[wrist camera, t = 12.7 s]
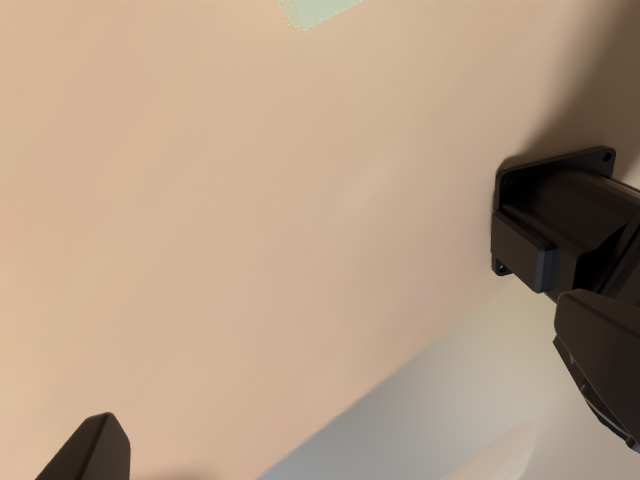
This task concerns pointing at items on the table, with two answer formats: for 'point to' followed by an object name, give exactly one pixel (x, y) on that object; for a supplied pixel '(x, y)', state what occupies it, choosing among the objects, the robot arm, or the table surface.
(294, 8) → the sage green cube
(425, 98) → the table surface
